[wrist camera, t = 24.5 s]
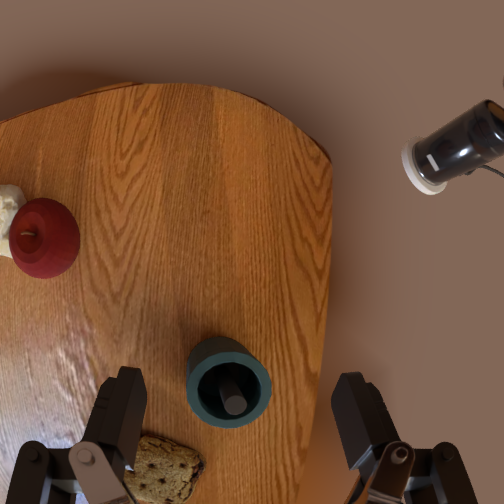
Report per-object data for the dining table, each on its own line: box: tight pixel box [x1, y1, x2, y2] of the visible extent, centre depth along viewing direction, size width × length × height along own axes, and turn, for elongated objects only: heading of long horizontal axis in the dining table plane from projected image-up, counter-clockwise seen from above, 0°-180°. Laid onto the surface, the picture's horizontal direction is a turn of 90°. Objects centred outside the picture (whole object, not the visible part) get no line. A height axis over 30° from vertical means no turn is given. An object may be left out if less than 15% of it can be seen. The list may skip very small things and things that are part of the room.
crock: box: [186, 337, 271, 429], centre depth 32 cm, size 9×9×10 cm
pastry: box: [124, 434, 206, 504], centre depth 31 cm, size 17×17×3 cm
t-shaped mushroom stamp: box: [204, 362, 247, 415], centre depth 30 cm, size 4×3×13 cm
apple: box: [8, 198, 80, 279], centre depth 29 cm, size 10×10×10 cm
